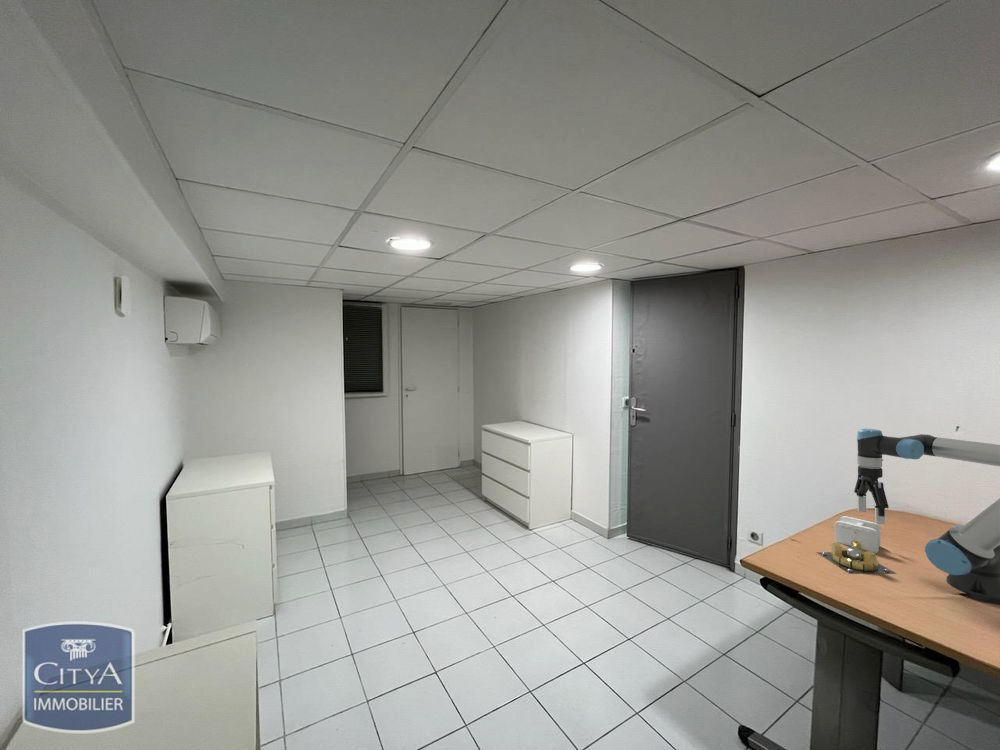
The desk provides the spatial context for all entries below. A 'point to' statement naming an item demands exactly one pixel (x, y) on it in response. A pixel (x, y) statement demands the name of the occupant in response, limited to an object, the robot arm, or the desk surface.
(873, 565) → the ring nut
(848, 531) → the cable organizer
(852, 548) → the flange
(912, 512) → the desk surface
